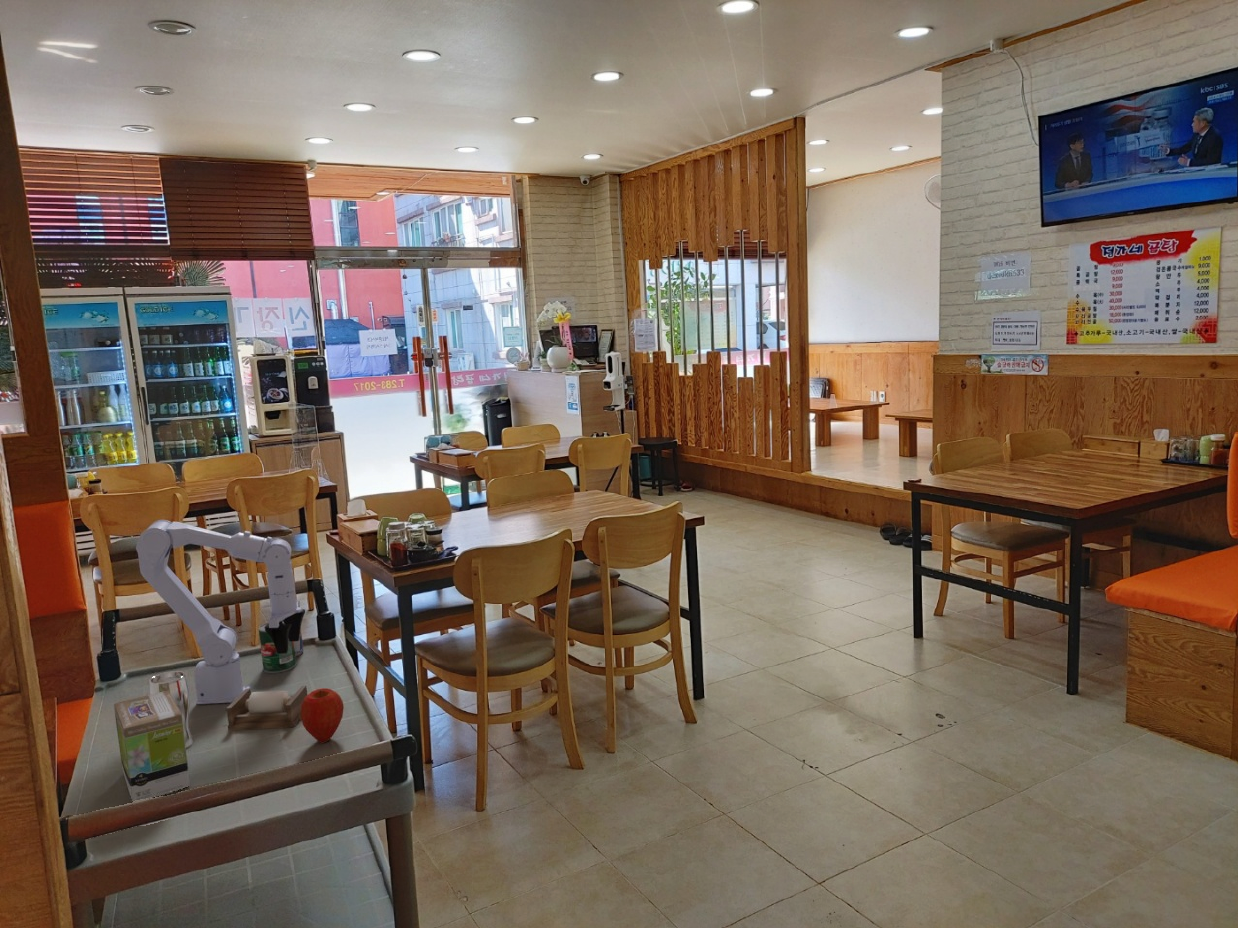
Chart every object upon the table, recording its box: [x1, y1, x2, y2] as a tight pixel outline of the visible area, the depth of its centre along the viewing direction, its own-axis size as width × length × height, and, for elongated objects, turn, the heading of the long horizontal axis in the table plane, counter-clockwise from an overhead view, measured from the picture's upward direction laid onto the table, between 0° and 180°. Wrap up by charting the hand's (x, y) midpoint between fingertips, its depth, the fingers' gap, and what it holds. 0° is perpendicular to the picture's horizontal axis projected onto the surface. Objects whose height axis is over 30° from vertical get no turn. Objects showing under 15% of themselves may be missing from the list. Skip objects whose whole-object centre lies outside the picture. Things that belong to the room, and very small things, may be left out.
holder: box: [226, 685, 308, 731], centre depth 192 cm, size 14×10×5 cm
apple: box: [300, 687, 344, 743], centre depth 179 cm, size 9×8×11 cm
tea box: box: [113, 690, 191, 802], centre depth 166 cm, size 15×10×15 cm
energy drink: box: [294, 629, 304, 657], centre depth 230 cm, size 5×5×12 cm
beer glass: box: [148, 670, 194, 749], centre depth 180 cm, size 7×7×15 cm
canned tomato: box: [258, 621, 297, 674], centre depth 221 cm, size 8×8×11 cm
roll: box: [245, 690, 293, 714], centre depth 191 cm, size 9×5×5 cm, turn 91°
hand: (288, 646), depth 207 cm, fingers open, 7 cm apart
